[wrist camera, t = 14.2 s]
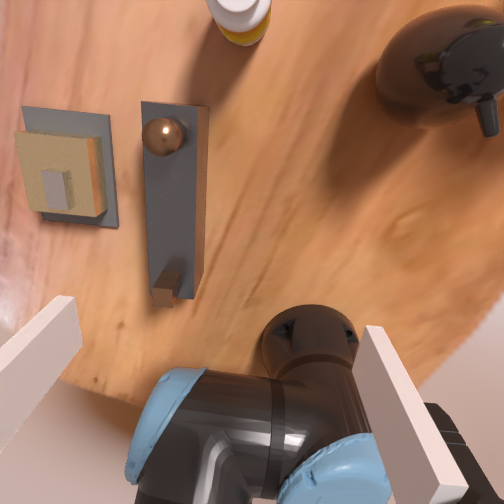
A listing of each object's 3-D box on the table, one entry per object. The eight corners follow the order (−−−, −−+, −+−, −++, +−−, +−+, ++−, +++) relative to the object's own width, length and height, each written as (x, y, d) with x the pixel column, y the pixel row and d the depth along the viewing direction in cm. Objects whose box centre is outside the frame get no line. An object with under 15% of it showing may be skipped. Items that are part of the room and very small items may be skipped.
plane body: (203, 272, 46) (186, 318, 36) (165, 268, 46) (138, 314, 36) (209, 107, 37) (189, 107, 27) (162, 102, 37) (124, 100, 27)
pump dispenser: (368, 138, 38) (430, 157, 24) (360, 37, 34) (428, -11, 20) (459, 116, 36) (579, 122, 23) (461, 8, 32) (610, -65, 18)
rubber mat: (119, 225, 43) (117, 227, 43) (46, 218, 43) (43, 219, 43) (109, 115, 37) (107, 115, 37) (25, 106, 37) (21, 106, 37)
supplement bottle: (279, 26, 33) (286, -4, 24) (235, 58, 35) (225, 40, 25) (252, -32, 31) (248, -89, 22) (206, 4, 33) (184, -36, 23)
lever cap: (108, 208, 42) (92, 219, 38) (47, 202, 42) (25, 212, 38) (101, 136, 38) (82, 139, 34) (34, 129, 38) (8, 132, 34)
